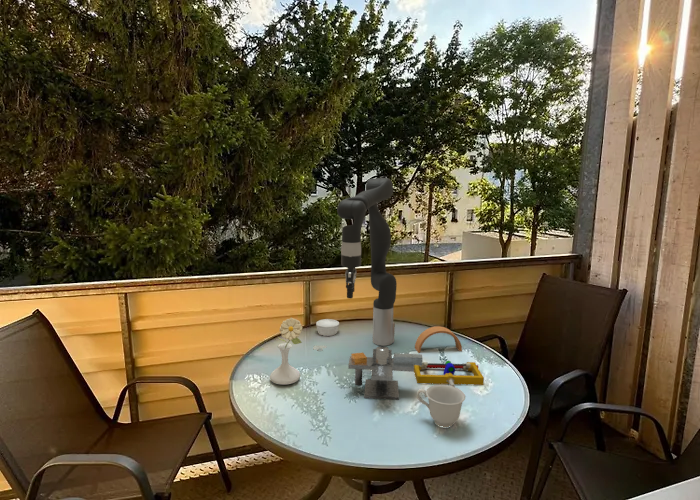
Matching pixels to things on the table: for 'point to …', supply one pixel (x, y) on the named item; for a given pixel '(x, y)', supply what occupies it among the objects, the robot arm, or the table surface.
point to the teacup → (443, 403)
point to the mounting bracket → (319, 348)
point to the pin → (358, 359)
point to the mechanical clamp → (449, 374)
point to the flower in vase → (285, 371)
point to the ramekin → (327, 327)
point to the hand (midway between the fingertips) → (350, 294)
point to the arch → (434, 330)
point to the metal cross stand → (385, 372)
